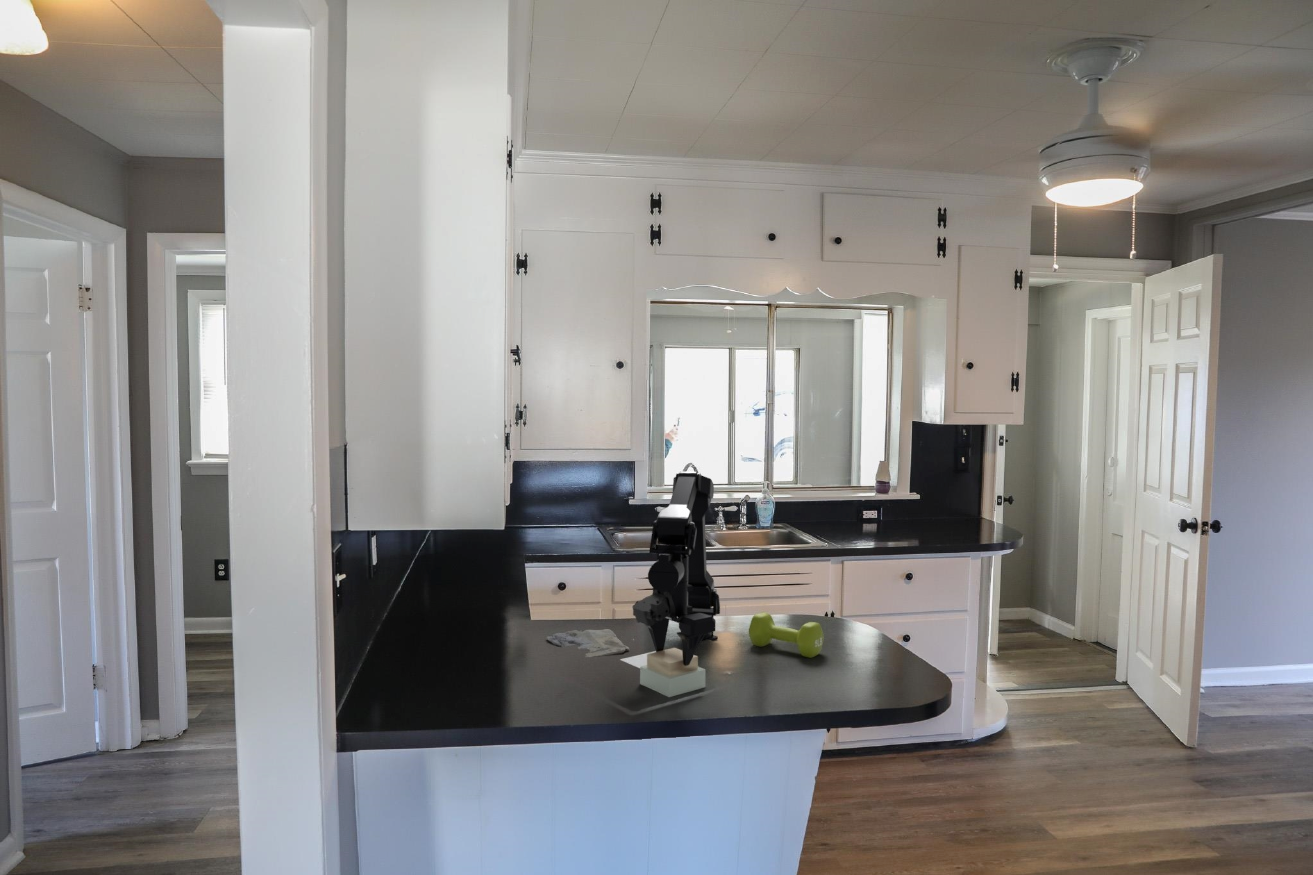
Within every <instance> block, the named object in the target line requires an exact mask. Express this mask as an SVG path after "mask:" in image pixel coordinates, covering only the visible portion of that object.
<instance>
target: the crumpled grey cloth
mask: <svg viewBox="0 0 1313 875" xmlns="http://www.w3.org/2000/svg"><path fill="white" fill-rule="evenodd" d="M546 639H547V640H548V642H550V643H551V644H553V645H555V646H559V647H561V648H565V647H569V646H577V649H579V650H584V649H587V650H589V652H587V653H585V656H584V658H594V657H602V656H611V655H619V654H620V655H621V654H623V653H624V652H629V651H630V648H629V646H626V644H625V645H624V643H623V642H622V641H621V640H620V639H619V638H618V637H617V635H616V633H614V631H613V630H611V629H608V628H606V629H605V628H604V629H585V630H584V629H582V630H580V629H574V630H569V631H566V632H557V633H554V634H552V635H548V636H546Z"/></svg>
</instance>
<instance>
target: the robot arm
mask: <svg viewBox="0 0 1313 875" xmlns="http://www.w3.org/2000/svg"><path fill="white" fill-rule="evenodd" d="M672 479H673V482H672V483H673V484H672V495H671V497H670V501H669V504H668V506H667V507H666V508H664V509H661V510H660V511H659V513H658V516H656V520H654V521H653V522H652V523H653V525H652V530H651V531H652V532H651V538H650V543H649V544H650V545H649V554H654V555H655V554H656V561H655V562H654V563H653V564H651V566H650V568H649V569H648V573H647V579H648V582H649V585H650V586H651V587H652V594H651V595H649V596H646V597H644V598H642V599H640V600H637V601H636V602H635V603H634V604H633V605H632V615H633V616H634V617H635V620H636V622H637V623H641V624H643V625H644V626H646V627H647V630H648V631H649V633H650V637H651V640H652V642H653V643H652V644H653V646H654V649H655V651H656V652H659V651H663V650H665V644H666V639H667V633H668V629H669V623H670V621H672V622H675V623H677V624H678V628H679V629H678V630H680V631H677V632H676V635H677V636H678V637H679V638H680V639H681V648H682V649H681V650H682V653H683V664H684V666H687V665H689V664H690V662H691V660H692V658H693V656H694V655H695V654H696V651H697V649H698V648H699V646H700V644H701V642H703V641H707V640H709V641H714V640H718V639H719V636H717V635H714V632H716V624H717V622H716V619H715V618H714V616H716V615H720V614H721V602H720V595H719V594H718V590H717V588H716V589H715V579H714V577H712V576H711V574H710V572H709V571H708V570H707V547H706V541H707V540H706V538H707V537H706V514H707V512H708V510H709V509H710V505H711V502H712V500H713V499H714V492H715V491H714V490H715V486H714V482H713V480H712V479H711V478H709V477H707V476H704V475H702V474H701V472H698V471H679V472H676V474H675V476H674V477H673V478H672Z"/></svg>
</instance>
